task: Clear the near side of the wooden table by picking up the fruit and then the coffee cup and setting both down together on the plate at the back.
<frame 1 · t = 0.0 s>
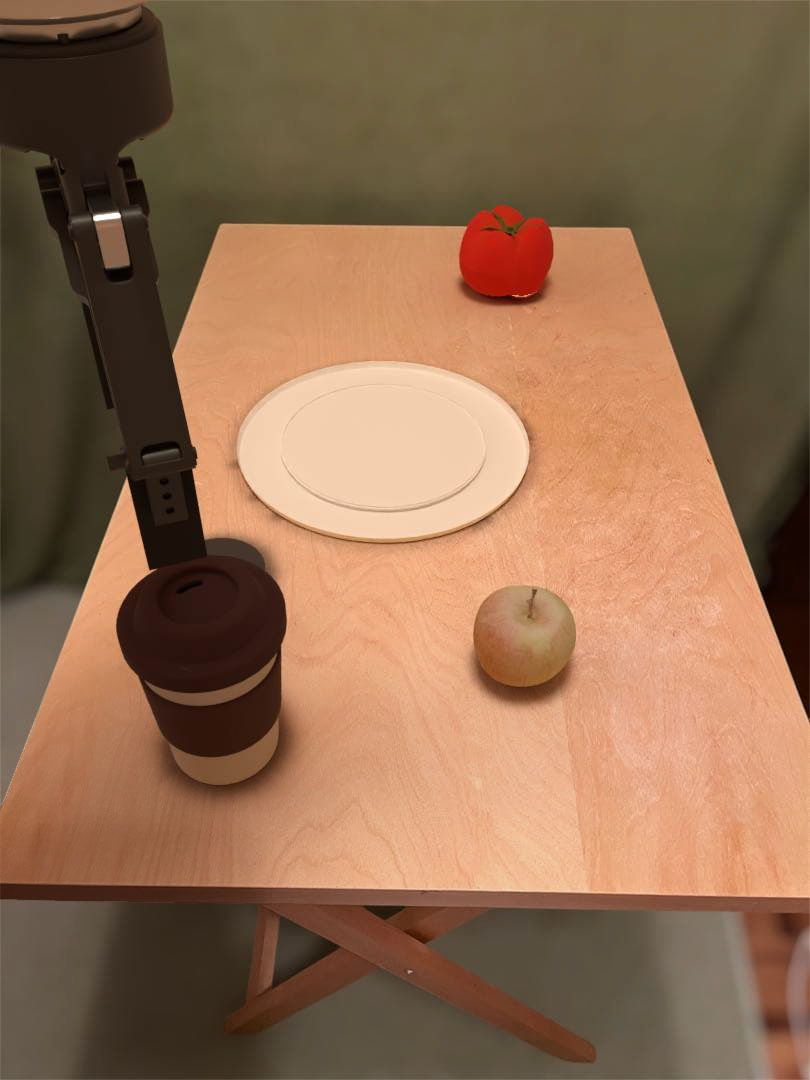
hand: (151, 473, 47), 24 cm above the table, tool pointing down, fingers open, 13 cm apart
tomato: (503, 290, 112), on the table
plate: (383, 446, 88), on the table
coffee cup: (226, 743, 63), on the table
fruit: (517, 668, 69), on the table
slate coaster: (217, 577, 75), on the table
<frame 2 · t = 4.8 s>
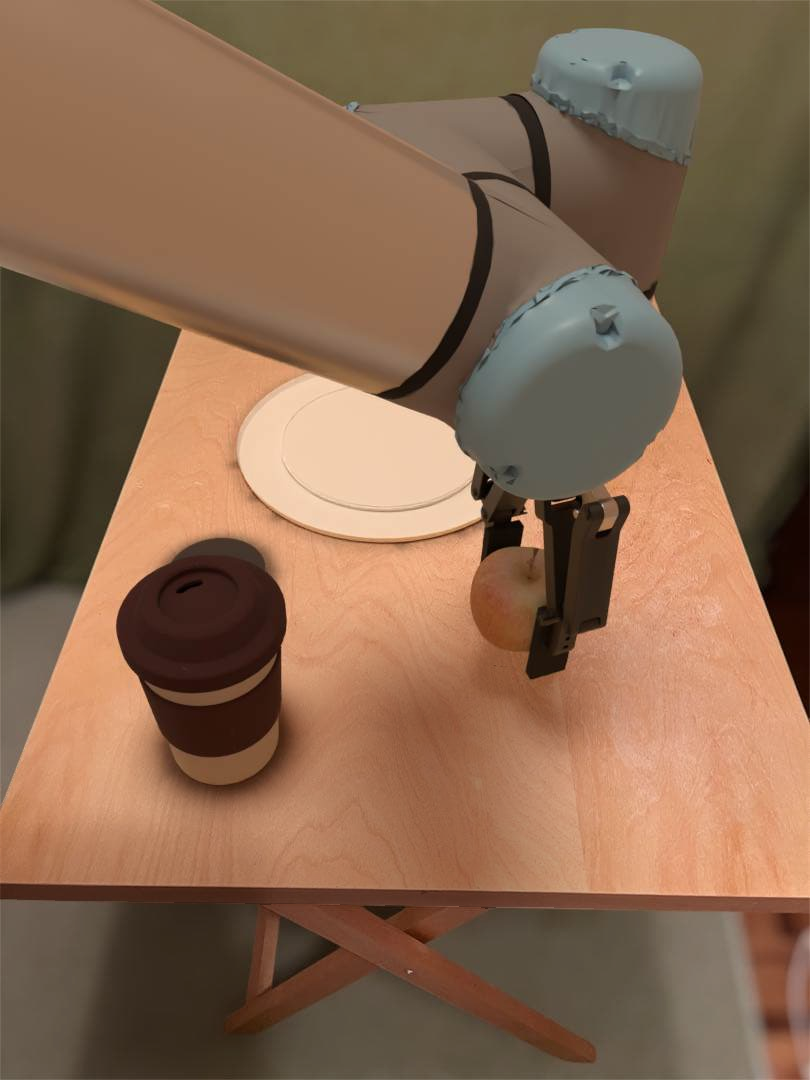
hand: (519, 629, 66), 4 cm above the table, tool pointing down, fingers closed on fruit, 7 cm apart
fruit: (514, 634, 66), point 4 cm above the table, touching gripper
everything else where it was.
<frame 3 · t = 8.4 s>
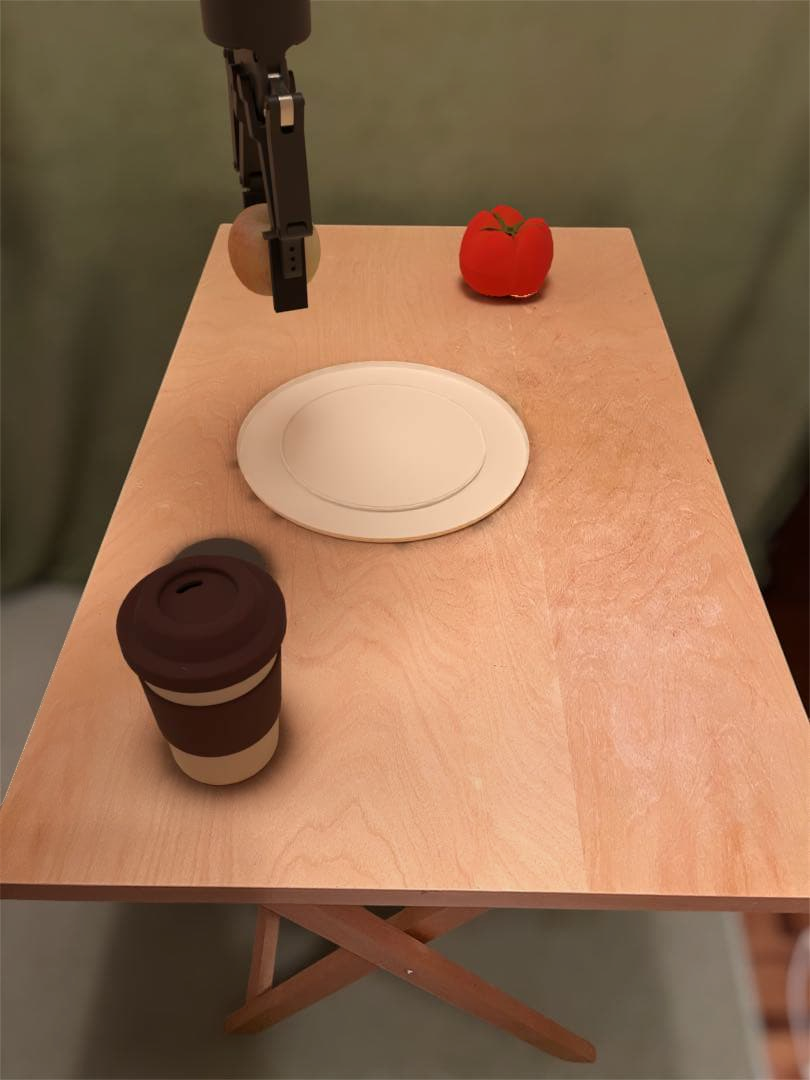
hand: (277, 285, 77), 17 cm above the table, tool pointing down, fingers closed on fruit, 7 cm apart
fruit: (275, 291, 77), point 16 cm above the table, touching gripper
everything else where it was.
when the fingers open (1 cm above the table, at t = 12.4 s): fruit stays where it is, resting on plate.
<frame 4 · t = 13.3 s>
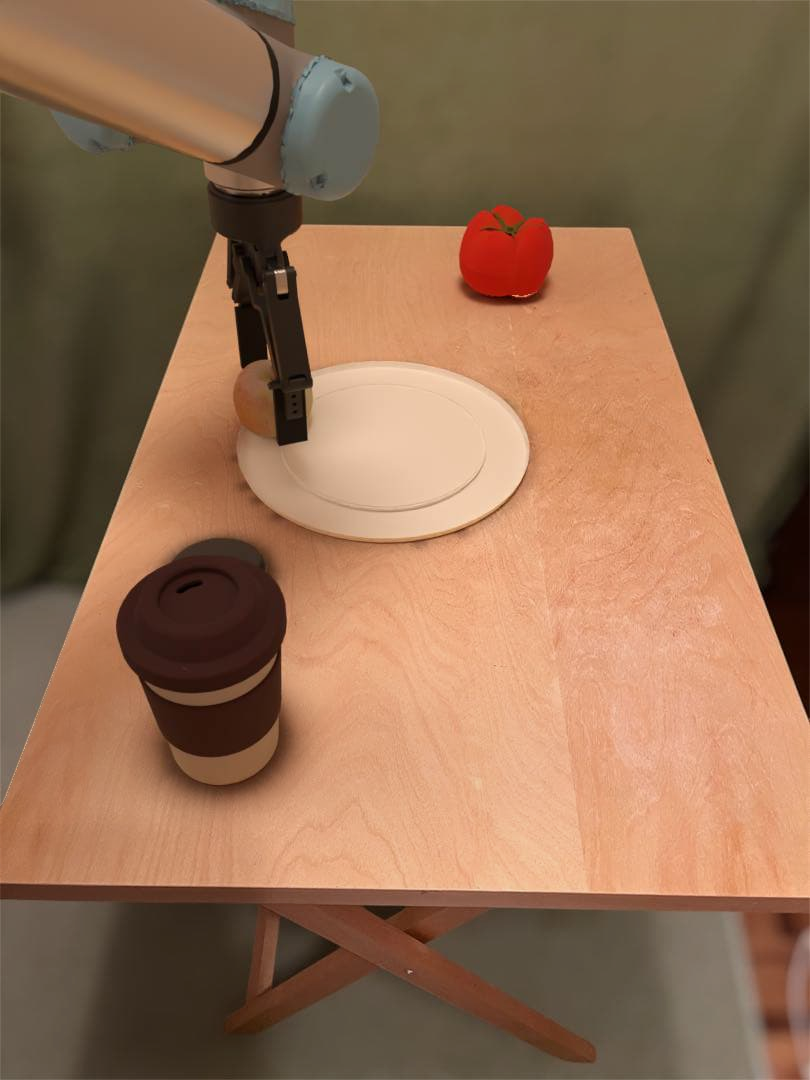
hand: (272, 401, 87), 4 cm above the table, tool pointing down, fingers open, 13 cm apart
plate: (383, 446, 88), on the table, touching fruit
fruit: (274, 429, 90), resting on plate
everything else where it was.
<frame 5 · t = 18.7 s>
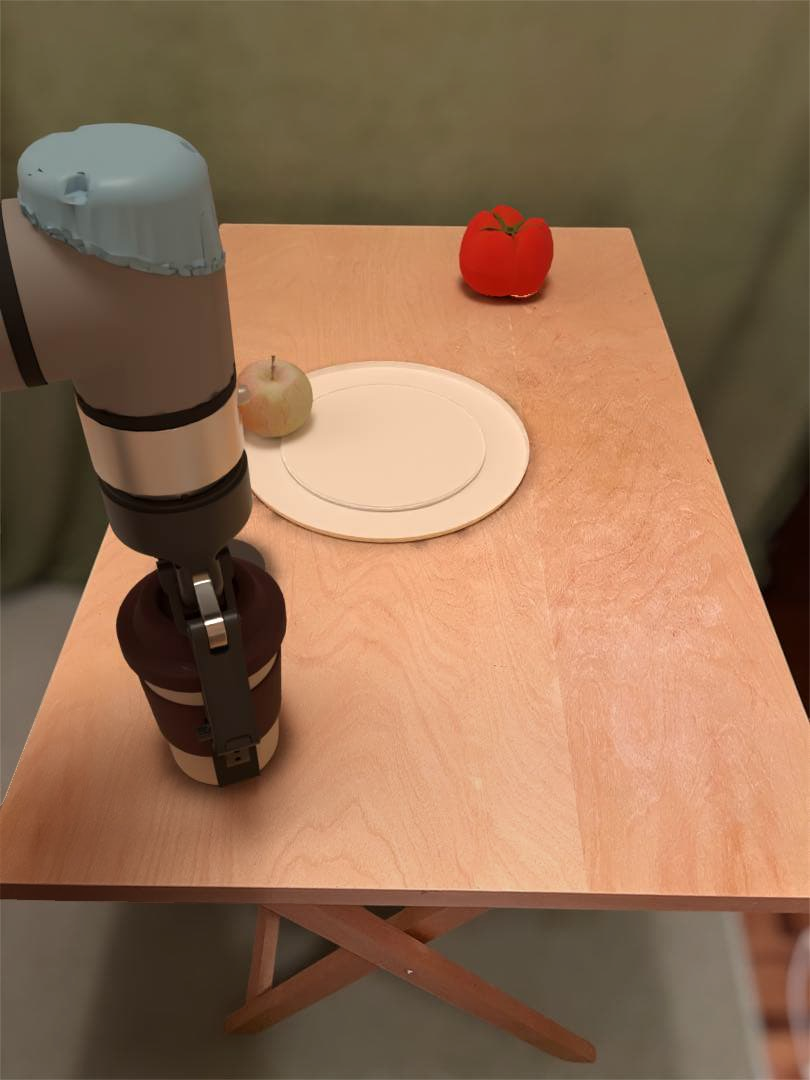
hand: (222, 722, 62), 2 cm above the table, tool pointing down, fingers closed on coffee cup, 8 cm apart
coffee cup: (226, 743, 63), on the table, touching gripper
everything else where it was.
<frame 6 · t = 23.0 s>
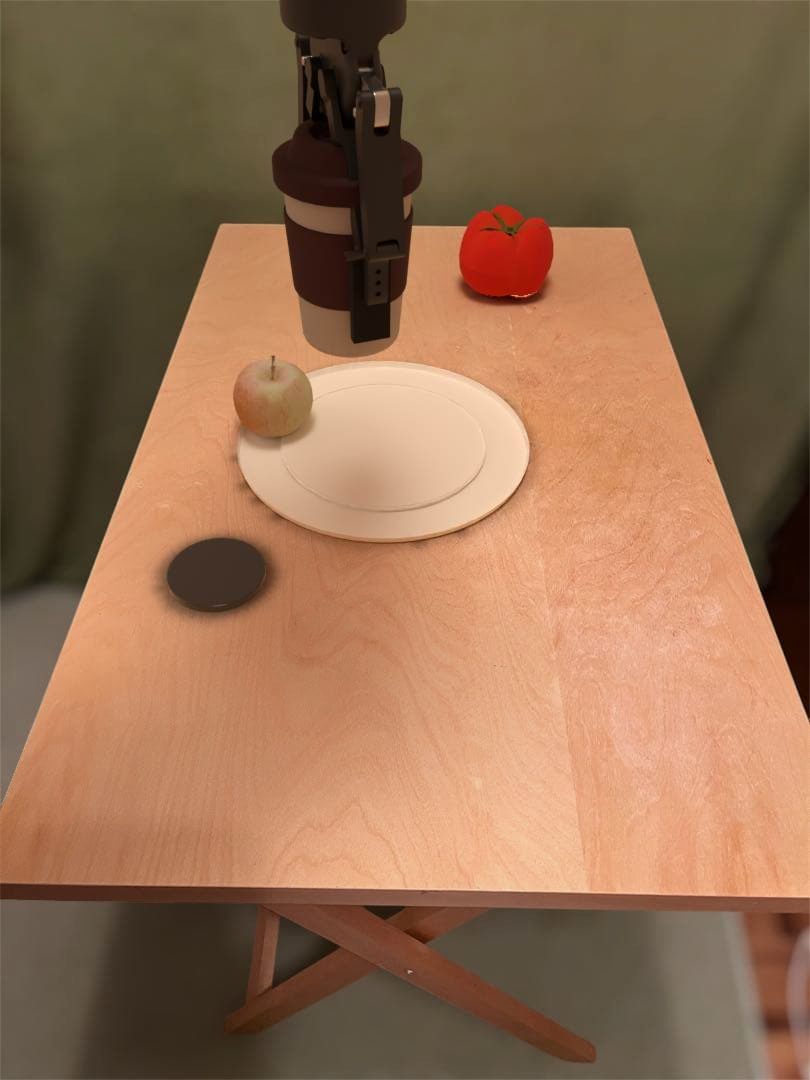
hand: (350, 308, 68), 20 cm above the table, tool pointing down, fingers closed on coffee cup, 8 cm apart
coffee cup: (351, 337, 69), point 18 cm above the table, touching gripper
everything else where it was.
when the fingers open (3 cm above the table, at t = 27.4 s): coffee cup stays where it is, resting on plate.
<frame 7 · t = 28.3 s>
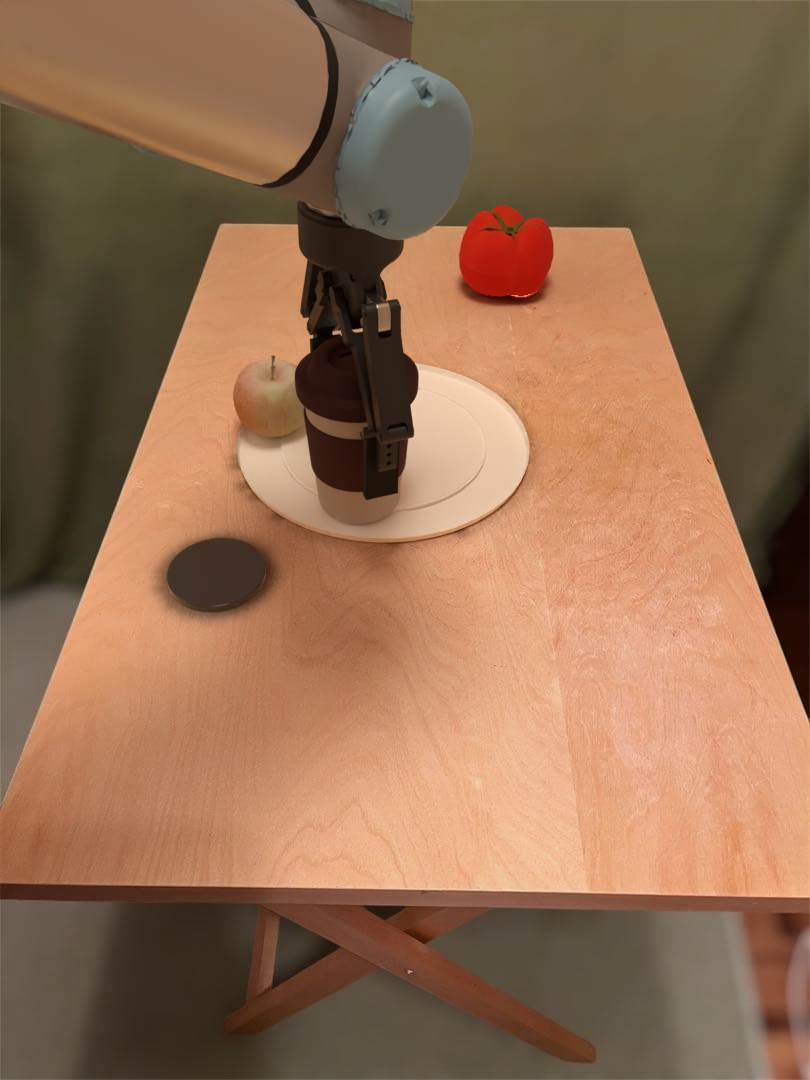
hand: (352, 445, 77), 7 cm above the table, tool pointing down, fingers open, 13 cm apart
plate: (383, 446, 88), on the table, touching coffee cup, fruit
coffee cup: (359, 501, 82), resting on plate
everything else where it was.
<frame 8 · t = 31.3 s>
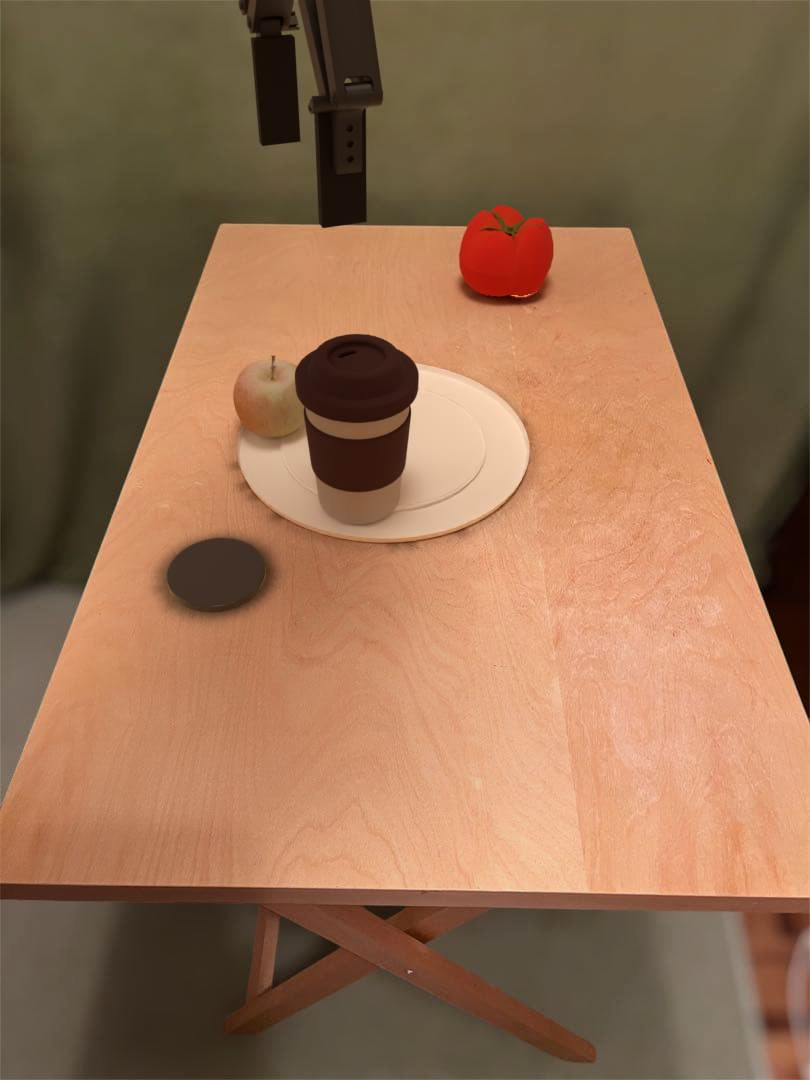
hand: (309, 179, 58), 31 cm above the table, tool pointing down, fingers open, 13 cm apart
plate: (383, 446, 88), on the table, touching fruit
coffee cup: (359, 501, 82), resting on plate
everything else where it was.
at the end: coffee cup inside the target area on the plate (8.6 cm from its centre), point 0.1 cm above the plate's base; fruit inside the target area on the plate (11.0 cm from its centre), point 0.1 cm above the plate's base; coffee cup tilted 0° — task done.
